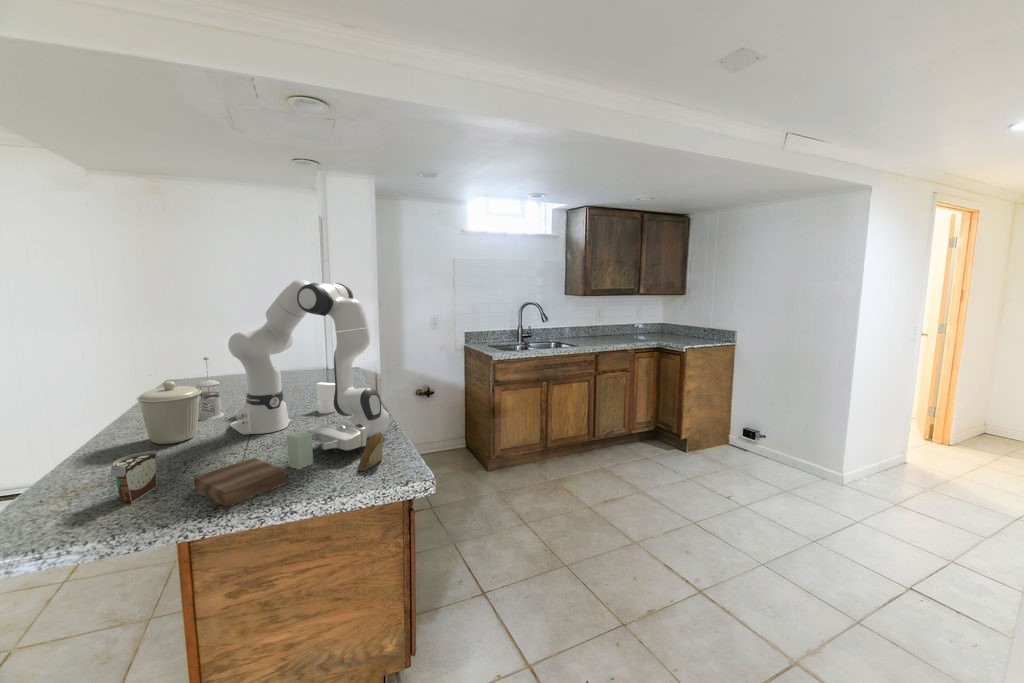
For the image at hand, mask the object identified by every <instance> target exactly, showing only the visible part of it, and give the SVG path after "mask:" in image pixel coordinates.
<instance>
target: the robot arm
mask: <svg viewBox="0 0 1024 683" xmlns="http://www.w3.org/2000/svg"><path fill="white" fill-rule="evenodd" d="M307 313H308V314H312V315H317V316H322V317H325V316H330V317H331V319H332V320H333V323H334V329H335V330H334V331H335V336H336V345H335V346H336V347H335V350H334V355H333V370H334V383H335V395H334V408H335V410H336V411H337V412H336V413H337V414H339V415H340V416H343V417H349V418H345V419H343V420H340V421H339V422H338V423H337V426H335V425H333V424H330V423H329V424H325V423H324V424H320V425H316V426H313V427H309V428H308V430H307V432H308V433H312V441H315V442H318V443H321V444H320V445H321V449H322V450H325V451H326V450H330V449H340V450H343V451H352V450H354V449H358V448H360V447H366V441H367V440H368V439H369V438H370V437H372V436H373V435H374V434H377V433H378V434H379V433H381V434H382V433H383V432H385V431H386V430H387V429H388V427H389V425H390V420H391V418H390V414H389V413H388V412H387V411H386V410H385V409H384V407H383V405H382V398H381V394H380V393H379V392H378V391H377V389H375V388H372V387H369V388H368V387H361V388H355V387H354V384H353V363H354V361H355V359H356V358H358V357H359V356H360V355H361V354H363V353H364V352H366V350H367V349H368V347H369V345H370V342H371V341H370V339H371V337H370V330H369V323H368V320H367V316H366V312H365V310H364V307H363V304H362V303H361V301H360V300H357V299H356V298H354V294H353V292H352V289H350V288H349V287H348V286H347V285H345V284H343V283H338V282H310V281H309V280H306V279H302V278H299V279H295V280H293V281H292V282H291V283H290V284H288V285H287V286H286V287H285V288H284V289H283V290H282V291H281V292H280V294H278V295H277V297H276V298H275V300H274V301H273V302H272V303H271V305H270V306H269V307H268V308H267V310H266V311H265V317H266V322H265V324H263V325H262V326H259V327H252V328H246V329H242V330H240V331H237V332H235V333H233V334H232V335H231V336H230V337H229V340H228V345H227V346H228V347H227V348H228V350H229V352H230V353H231V355H232V356H233V357H235V358H236V359H238V361H239V362H240V363H241V364H242V366H243V368H244V370H245V373H246V378H247V389H248V392H247V393H246V395H245V398H246V401H245V403H244V404H243V405H242V406H241V407H240V408H239V409H238V410H237V412H236V414H235V421H232V422H231V423H230V427H231V428H232V429H234V430H235V431H236V432H238V433H239V434H241V435H244V436H245V435H252V434H253V435H255V434H256V435H257V434H258V435H259V434H261V435H262V434H269V433H274V432H278V431H281V430H284V429H286V428H287V427H288V426H289V424H290V423H291V421H292V420H291V419H290V418H289V415H288V409H287V404H286V402H285V401H283V400H284V392H283V389H282V377H281V376H282V373H281V371H280V369H279V367H276V366H274V364H273V362H272V360H271V356H272V355H277V354H280V353H282V352H284V351H287V350H289V349H290V348H291V347H292V344H293V342H294V337H293V332H294V330H295V329H296V327H297V326H298V325H299V324H300V322H301V320H302V319H303V318H304V317H305V316H306V315H307ZM350 416H352V417H350Z"/></svg>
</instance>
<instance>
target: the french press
mask: <svg viewBox="0 0 1024 683" xmlns="http://www.w3.org/2000/svg"><path fill="white" fill-rule="evenodd" d="M202 360H203V361H205V364H206V368H208V362H207V361H208V360H210V357H208V356H205V357H203V359H202ZM206 374H207V375H206V376H207V377H206V380H202V381H199V382H198V383H196V384H195V385H196V387H195V388H197V389H199V390H201V391H202V388H207V391H204V392H201V394H200V395H199V397H200V398H199V415H198V421H199V420H200V421H207V420H214V419H219V418H221V417H222V418H223V417H224V416H225V413H224V412H222V406H221V404H222V403H221V395H220V394H219V393H220V392H219V391H216V390H212V391H210V387H215V386H219V385H220V382H219V381H218V380H214V379H209V375H208V371H206Z"/></svg>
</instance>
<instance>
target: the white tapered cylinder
mask: <svg viewBox="0 0 1024 683" xmlns="http://www.w3.org/2000/svg"><path fill="white" fill-rule="evenodd" d="M334 395H335V382H334V383H333V382H317V383H316V406H317V407H316V410H317V411H318V412H320V413H319V414H329V413H328V412H334V411H336V410H335V408H334ZM318 412H317V413H318ZM334 413H335V412H334Z"/></svg>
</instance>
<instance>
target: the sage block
mask: <svg viewBox="0 0 1024 683" xmlns="http://www.w3.org/2000/svg"><path fill="white" fill-rule="evenodd" d="M286 439H287V440H286V442H287V460H288V467H290V466H291V467H290V468H292V467H294V468H293V469H295V468H296V469H295V470H297V469H300V468H302V469H304V468H303V467H305V468H307V467H306V466H308V465H310V466H312V465H311V464H313V465H314V453H313V452H314V450H313V440H312V433H308V431H305V430H299V431H296V432H293V433H289V434H286ZM308 467H309V466H308ZM300 470H301V469H300Z"/></svg>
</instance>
